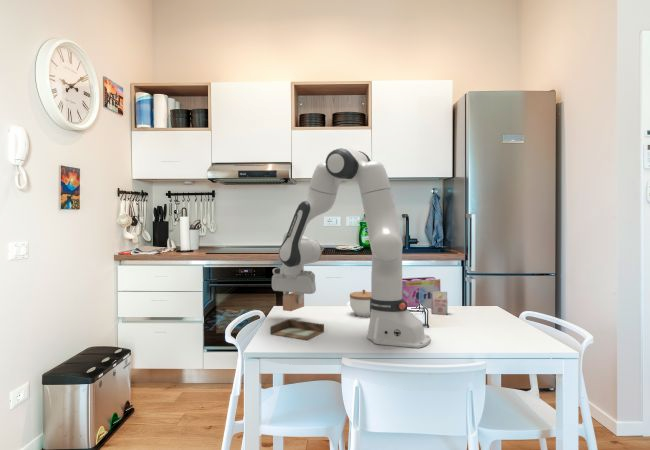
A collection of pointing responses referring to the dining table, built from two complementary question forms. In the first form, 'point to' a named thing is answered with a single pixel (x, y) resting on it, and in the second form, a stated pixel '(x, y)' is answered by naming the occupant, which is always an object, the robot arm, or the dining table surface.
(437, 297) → the small beige carton
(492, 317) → the dining table surface
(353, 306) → the lidded bowl
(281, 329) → the brown wooden flat frame
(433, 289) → the gum box
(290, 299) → the terracotta block
